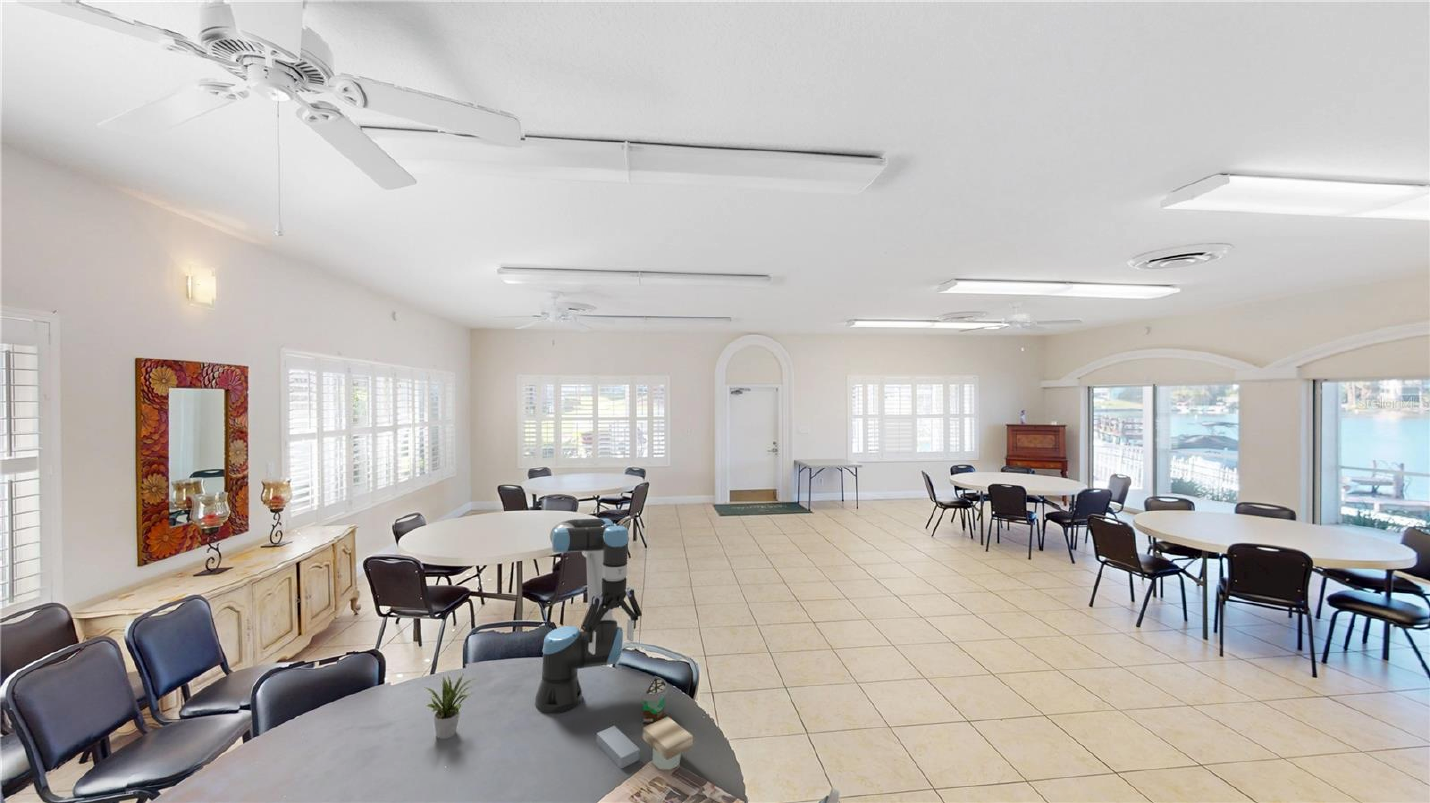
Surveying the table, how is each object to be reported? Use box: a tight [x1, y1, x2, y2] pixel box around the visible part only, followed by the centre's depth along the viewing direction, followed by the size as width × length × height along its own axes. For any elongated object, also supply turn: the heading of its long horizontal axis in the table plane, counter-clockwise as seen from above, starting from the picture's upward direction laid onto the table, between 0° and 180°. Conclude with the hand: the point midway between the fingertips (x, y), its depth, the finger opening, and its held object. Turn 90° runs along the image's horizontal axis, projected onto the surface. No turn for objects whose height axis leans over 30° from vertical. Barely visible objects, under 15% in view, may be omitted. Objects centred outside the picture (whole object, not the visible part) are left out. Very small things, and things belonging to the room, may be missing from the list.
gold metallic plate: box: [642, 716, 694, 760], centre depth 147 cm, size 12×9×3 cm
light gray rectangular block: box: [596, 725, 641, 770], centre depth 150 cm, size 14×6×3 cm, turn 41°
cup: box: [652, 747, 682, 771], centre depth 147 cm, size 8×8×5 cm
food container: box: [642, 675, 669, 725], centre depth 168 cm, size 12×6×10 cm, turn 168°
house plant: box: [425, 673, 476, 740], centre depth 156 cm, size 14×14×16 cm
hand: (611, 645), depth 160 cm, fingers open, 13 cm apart
